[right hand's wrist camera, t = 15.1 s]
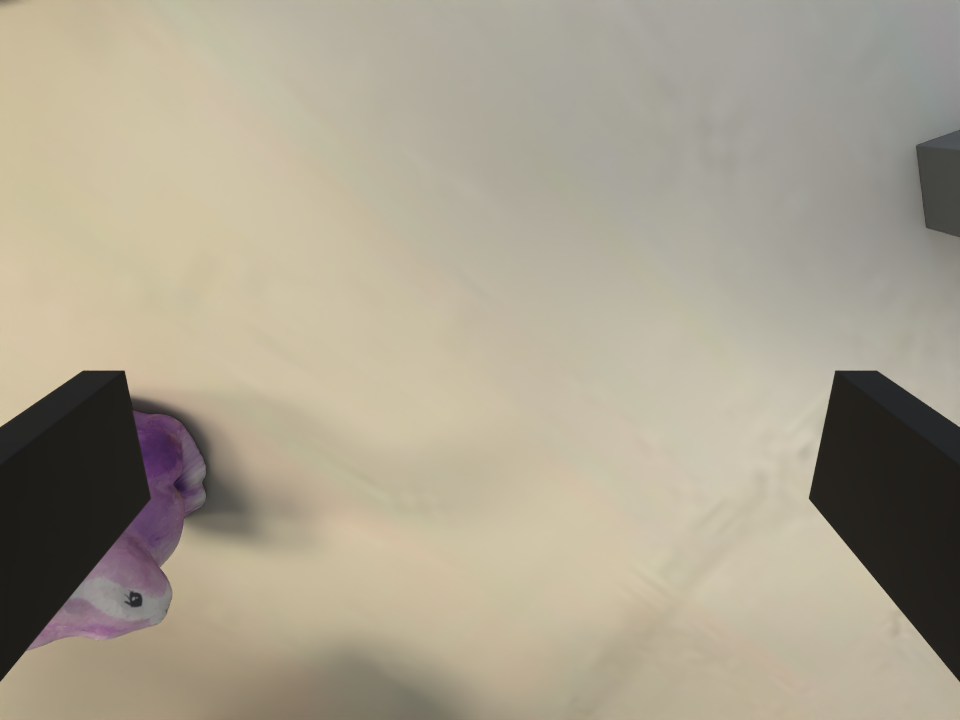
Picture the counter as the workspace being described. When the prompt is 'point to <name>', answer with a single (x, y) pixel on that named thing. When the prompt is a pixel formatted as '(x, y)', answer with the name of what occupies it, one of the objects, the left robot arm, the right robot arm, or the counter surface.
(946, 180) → the grey block
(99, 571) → the figurine
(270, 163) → the counter surface
